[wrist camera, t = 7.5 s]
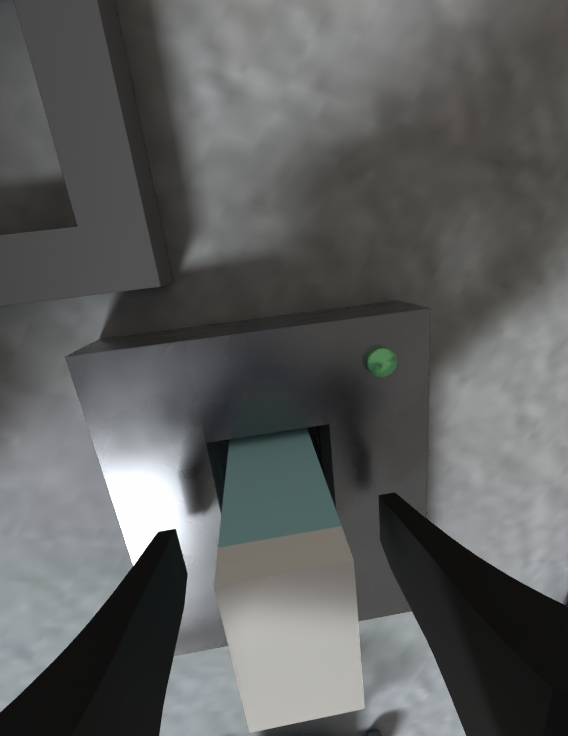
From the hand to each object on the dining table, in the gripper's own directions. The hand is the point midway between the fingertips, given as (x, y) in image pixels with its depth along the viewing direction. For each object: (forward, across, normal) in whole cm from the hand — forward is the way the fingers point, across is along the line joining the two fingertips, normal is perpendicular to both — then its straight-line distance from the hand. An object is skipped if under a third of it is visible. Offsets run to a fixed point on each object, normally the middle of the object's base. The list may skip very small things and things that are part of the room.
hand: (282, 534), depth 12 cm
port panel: (+4, 0, 0) cm, 4 cm away
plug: (+4, 0, 0) cm, 4 cm away
